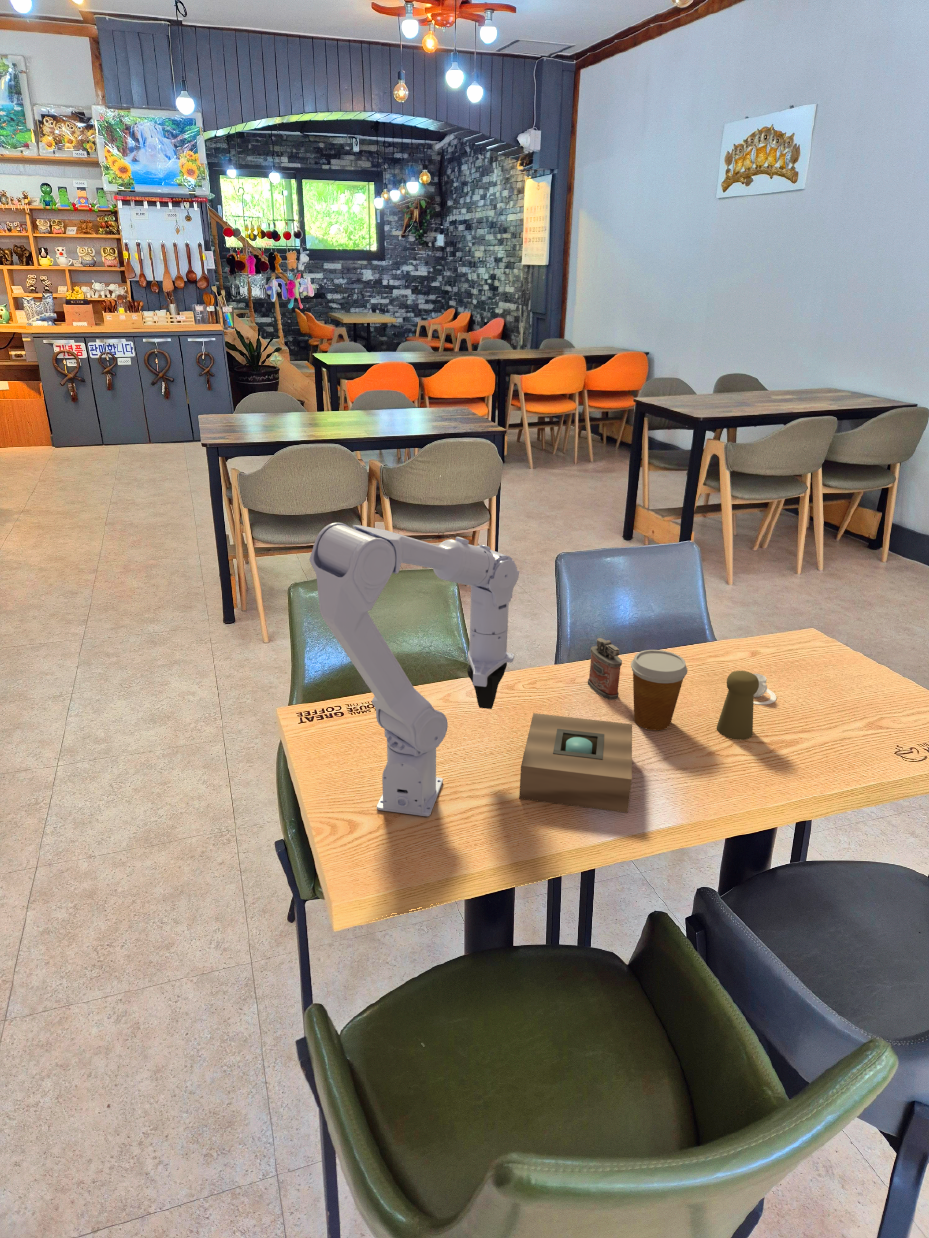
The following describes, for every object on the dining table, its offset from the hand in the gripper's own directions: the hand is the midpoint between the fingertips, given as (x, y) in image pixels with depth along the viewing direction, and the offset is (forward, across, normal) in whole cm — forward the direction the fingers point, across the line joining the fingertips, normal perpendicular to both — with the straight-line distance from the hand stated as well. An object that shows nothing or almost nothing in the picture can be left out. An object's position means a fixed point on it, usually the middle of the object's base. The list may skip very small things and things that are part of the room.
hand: (486, 706), depth 130 cm
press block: (+9, -2, -15) cm, 18 cm away
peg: (+9, -2, -15) cm, 17 cm away
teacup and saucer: (+10, +36, -48) cm, 60 cm away
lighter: (+10, +28, -18) cm, 35 cm away
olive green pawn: (+10, +18, -41) cm, 46 cm away
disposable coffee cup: (+10, +18, -27) cm, 34 cm away
